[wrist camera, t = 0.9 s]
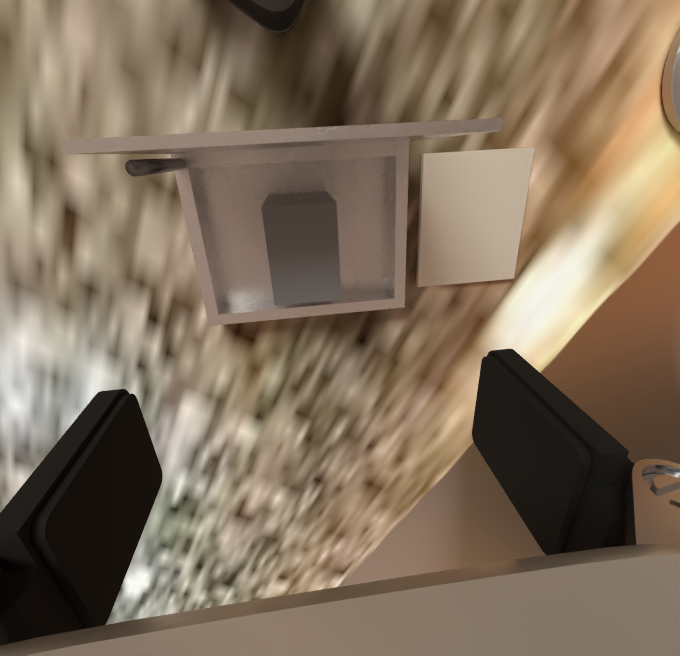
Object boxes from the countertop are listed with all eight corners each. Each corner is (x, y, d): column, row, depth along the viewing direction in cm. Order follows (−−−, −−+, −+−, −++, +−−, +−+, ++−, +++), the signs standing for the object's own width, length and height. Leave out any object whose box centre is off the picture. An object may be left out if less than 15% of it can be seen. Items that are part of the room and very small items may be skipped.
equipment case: (399, 135, 31) (502, 117, 16) (396, 296, 37) (468, 394, 22) (180, 147, 30) (62, 139, 14) (215, 312, 36) (159, 430, 21)
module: (326, 191, 32) (336, 201, 25) (331, 269, 35) (341, 299, 28) (268, 195, 32) (261, 207, 24) (278, 274, 35) (274, 305, 27)
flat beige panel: (530, 147, 33) (534, 147, 32) (510, 276, 38) (513, 278, 38) (421, 153, 32) (423, 153, 31) (416, 285, 37) (417, 287, 37)
